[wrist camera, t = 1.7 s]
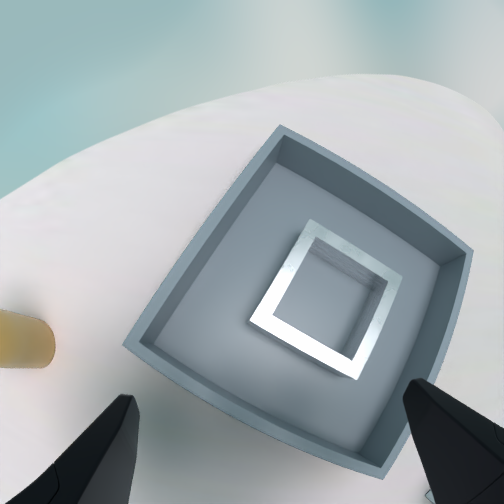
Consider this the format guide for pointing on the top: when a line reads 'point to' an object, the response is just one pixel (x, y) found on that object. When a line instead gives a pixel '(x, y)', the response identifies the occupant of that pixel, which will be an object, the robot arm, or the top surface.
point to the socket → (354, 266)
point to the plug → (24, 341)
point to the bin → (307, 306)
